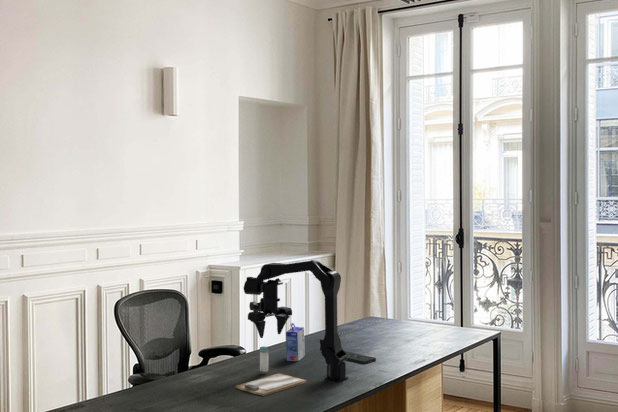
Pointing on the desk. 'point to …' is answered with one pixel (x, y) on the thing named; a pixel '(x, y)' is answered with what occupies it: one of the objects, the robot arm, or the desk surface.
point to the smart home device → (359, 358)
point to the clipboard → (271, 384)
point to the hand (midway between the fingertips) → (270, 336)
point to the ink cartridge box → (295, 343)
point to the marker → (264, 360)
